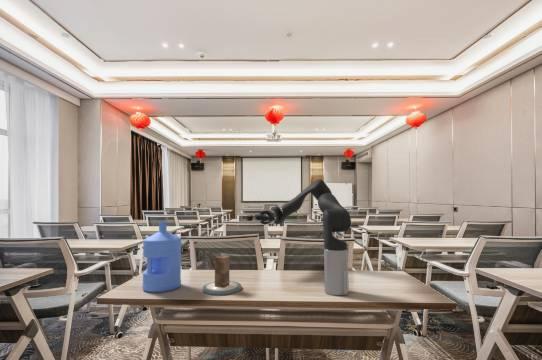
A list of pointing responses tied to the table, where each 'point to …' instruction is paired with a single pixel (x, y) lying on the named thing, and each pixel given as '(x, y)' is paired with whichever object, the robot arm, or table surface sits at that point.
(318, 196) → the robot arm
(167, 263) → the water jug
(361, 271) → the table surface
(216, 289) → the teal dish
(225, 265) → the walnut block
